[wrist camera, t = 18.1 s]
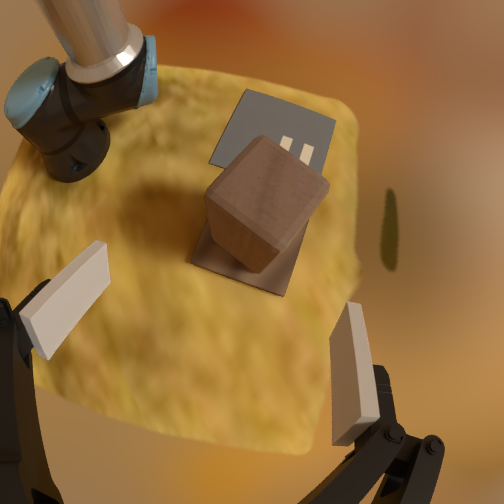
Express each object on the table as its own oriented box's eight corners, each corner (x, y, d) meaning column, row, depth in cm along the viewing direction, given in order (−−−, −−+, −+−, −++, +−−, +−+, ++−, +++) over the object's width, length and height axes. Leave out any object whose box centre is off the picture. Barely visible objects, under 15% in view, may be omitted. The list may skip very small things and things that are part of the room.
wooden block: (209, 239, 48) (199, 192, 28) (247, 194, 50) (260, 128, 30) (258, 277, 47) (281, 256, 28) (294, 230, 49) (336, 182, 30)
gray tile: (209, 163, 52) (209, 162, 52) (246, 89, 56) (246, 88, 56) (313, 200, 52) (313, 200, 52) (335, 120, 56) (336, 120, 56)
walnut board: (191, 263, 48) (190, 262, 47) (225, 179, 52) (225, 175, 50) (282, 296, 49) (284, 296, 47) (310, 210, 52) (312, 207, 50)
